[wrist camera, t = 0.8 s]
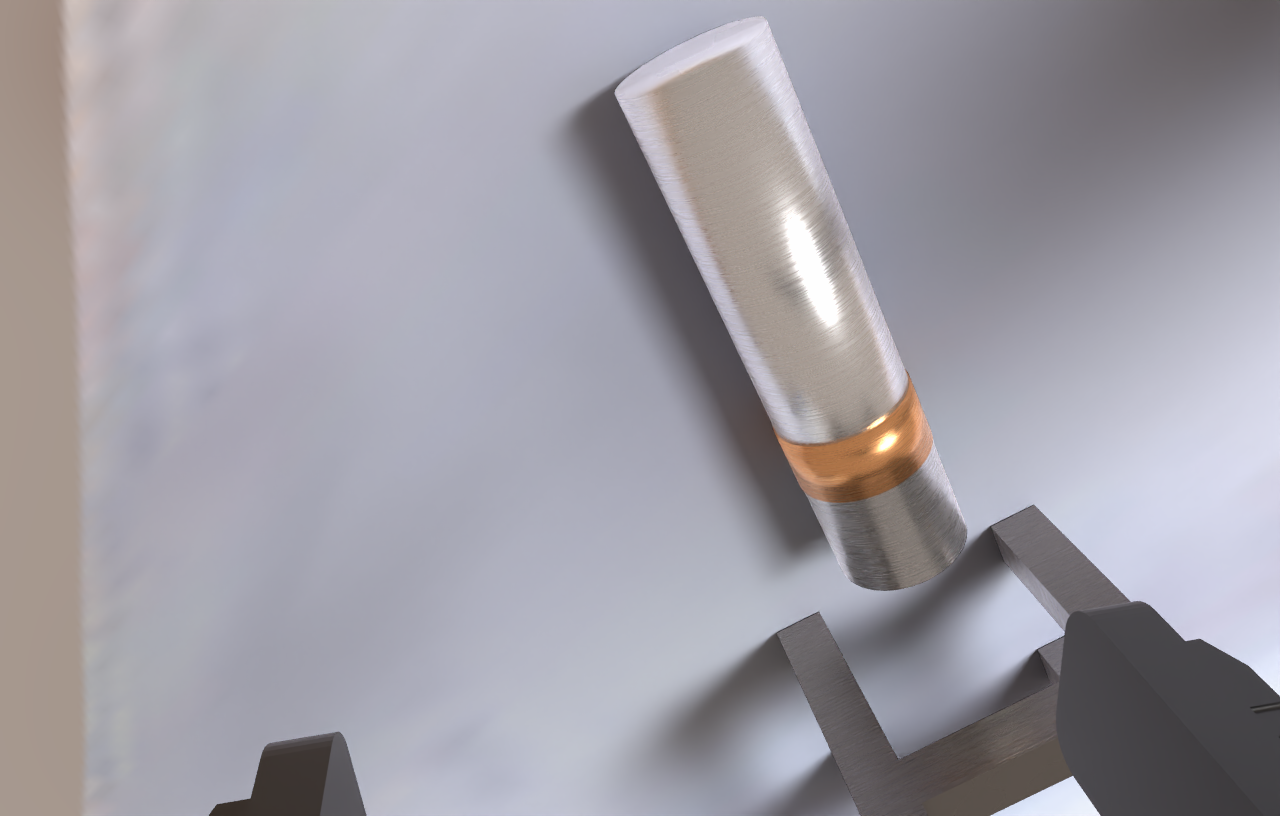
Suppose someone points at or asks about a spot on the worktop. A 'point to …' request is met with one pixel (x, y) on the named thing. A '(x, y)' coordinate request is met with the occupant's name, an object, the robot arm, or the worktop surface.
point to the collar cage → (982, 752)
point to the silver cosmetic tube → (796, 298)
